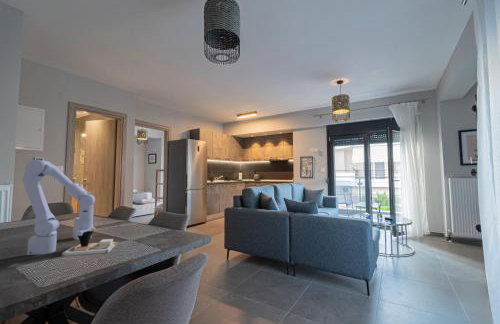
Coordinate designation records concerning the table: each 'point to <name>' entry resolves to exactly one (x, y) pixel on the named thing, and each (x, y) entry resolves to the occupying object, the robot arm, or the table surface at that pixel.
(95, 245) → the oak board
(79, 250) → the terracotta tile
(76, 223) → the supplement box
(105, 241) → the cream tile
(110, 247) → the grey tray
